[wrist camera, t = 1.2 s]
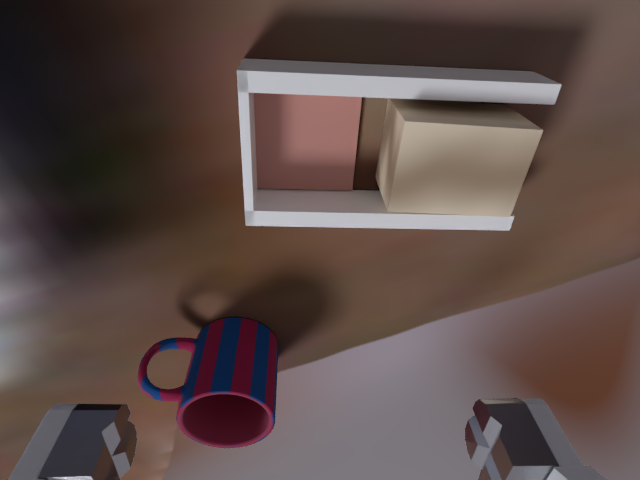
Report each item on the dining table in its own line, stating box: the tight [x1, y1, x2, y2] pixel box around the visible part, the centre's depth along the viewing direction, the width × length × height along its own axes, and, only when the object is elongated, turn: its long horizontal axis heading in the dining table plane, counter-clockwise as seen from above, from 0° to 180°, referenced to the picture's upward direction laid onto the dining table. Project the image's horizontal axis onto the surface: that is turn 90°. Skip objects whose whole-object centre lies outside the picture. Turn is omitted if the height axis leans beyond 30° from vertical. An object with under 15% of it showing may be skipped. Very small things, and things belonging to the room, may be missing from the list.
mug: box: [138, 317, 278, 448], centre depth 31 cm, size 7×10×7 cm
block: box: [375, 98, 543, 217], centre depth 23 cm, size 5×7×4 cm
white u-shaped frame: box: [237, 58, 562, 230], centre depth 24 cm, size 9×16×3 cm, turn 87°
